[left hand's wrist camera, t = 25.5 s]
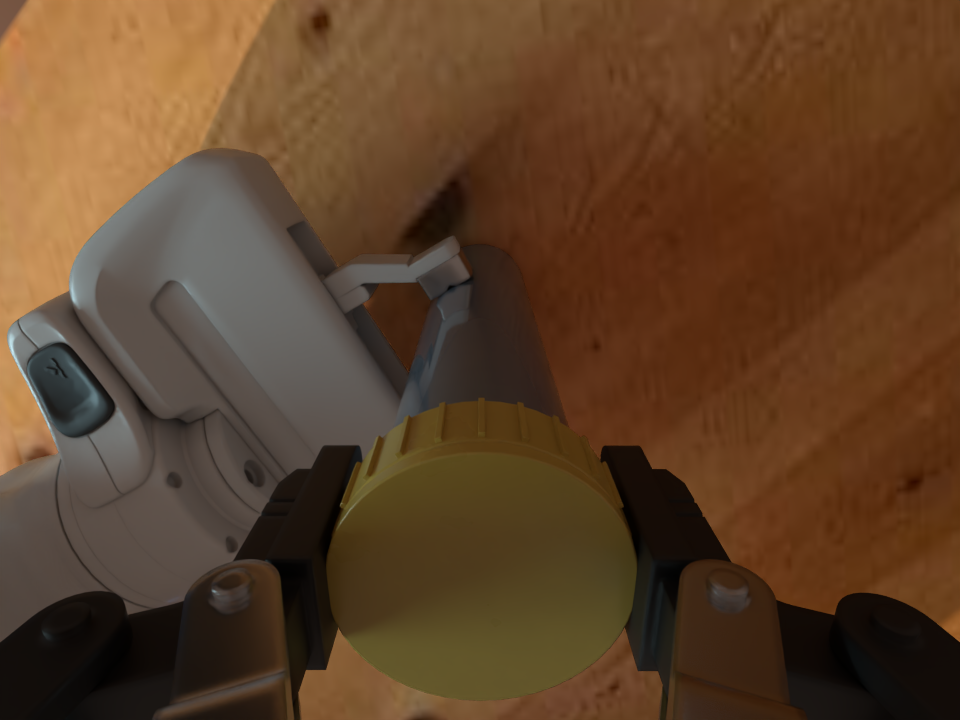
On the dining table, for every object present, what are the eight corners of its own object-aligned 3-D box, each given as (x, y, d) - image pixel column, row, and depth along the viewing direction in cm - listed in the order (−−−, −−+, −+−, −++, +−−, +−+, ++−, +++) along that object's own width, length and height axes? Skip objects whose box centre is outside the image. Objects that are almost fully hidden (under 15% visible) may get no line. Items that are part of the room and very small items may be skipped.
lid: (352, 379, 10) (325, 429, 8) (645, 414, 10) (680, 470, 8) (339, 610, 12) (315, 689, 10) (588, 634, 12) (605, 716, 10)
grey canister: (418, 277, 28) (311, 528, 10) (490, 226, 27) (514, 401, 9) (469, 344, 29) (455, 674, 11) (539, 297, 28) (645, 575, 10)
